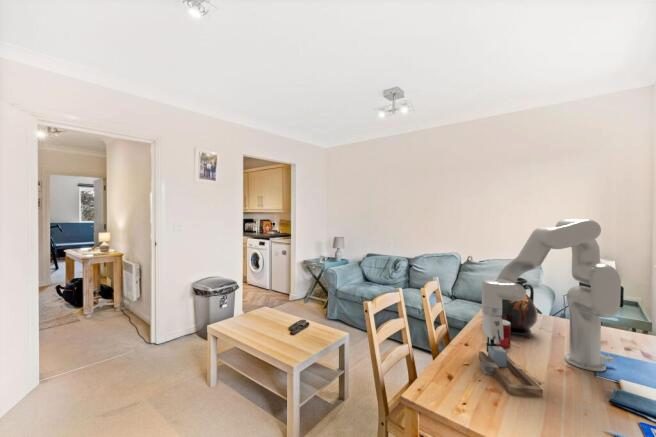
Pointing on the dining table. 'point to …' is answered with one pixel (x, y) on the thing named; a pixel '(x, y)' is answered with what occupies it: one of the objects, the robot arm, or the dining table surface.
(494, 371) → the beam slot
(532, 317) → the amphora vase
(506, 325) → the canned food
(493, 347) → the block
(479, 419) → the dining table surface
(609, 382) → the dining table surface
